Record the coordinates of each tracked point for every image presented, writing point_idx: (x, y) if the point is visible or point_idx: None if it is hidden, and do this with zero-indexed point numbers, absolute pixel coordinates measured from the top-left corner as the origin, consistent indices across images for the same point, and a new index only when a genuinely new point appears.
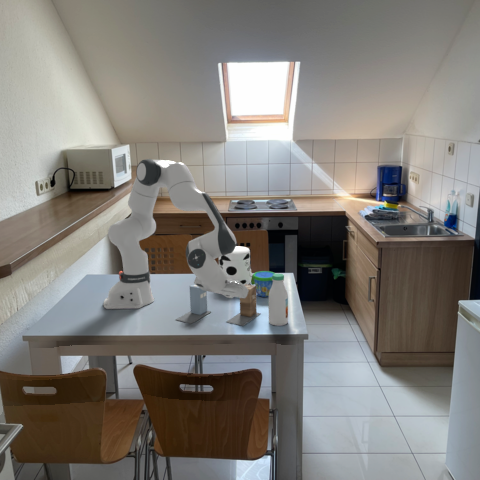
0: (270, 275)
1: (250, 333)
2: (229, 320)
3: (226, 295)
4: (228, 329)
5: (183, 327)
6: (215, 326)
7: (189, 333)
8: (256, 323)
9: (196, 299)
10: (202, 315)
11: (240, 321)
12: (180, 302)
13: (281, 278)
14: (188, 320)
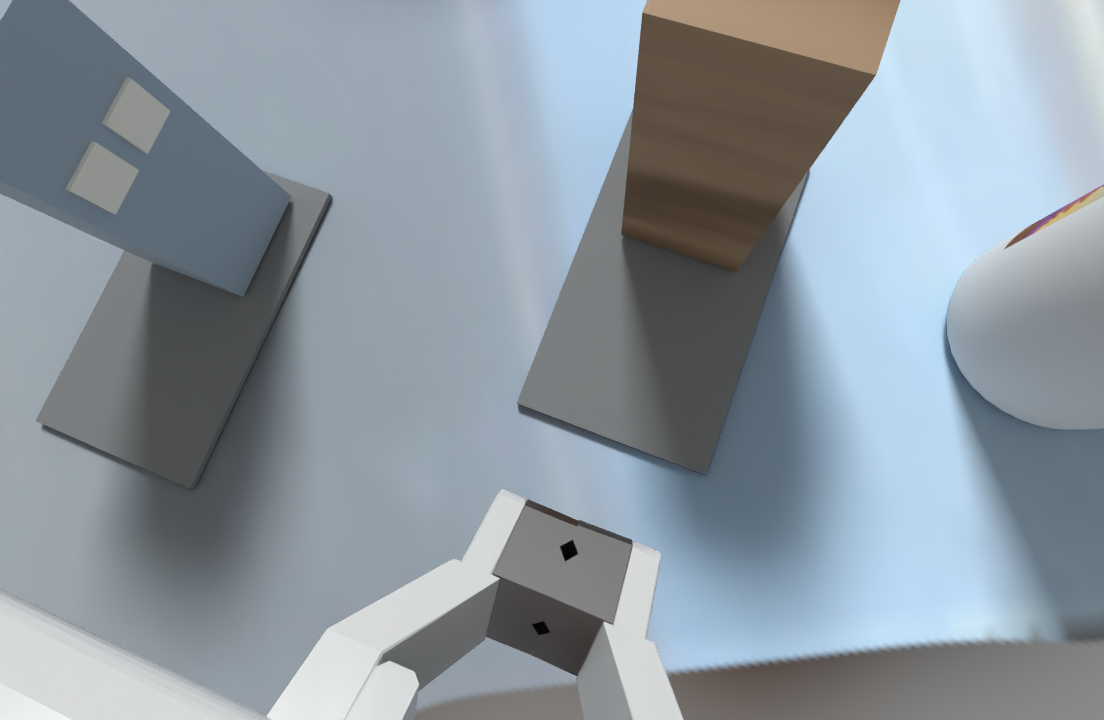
0: None
1: (819, 646)
2: (542, 374)
3: (495, 632)
4: None
5: (136, 579)
6: (432, 516)
7: None
8: (821, 389)
9: (76, 222)
10: (264, 294)
11: (656, 382)
12: None
13: None
14: (154, 428)
